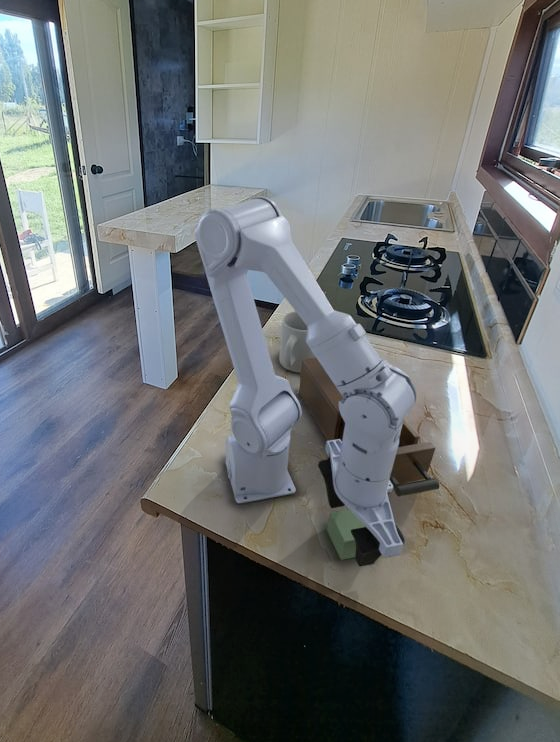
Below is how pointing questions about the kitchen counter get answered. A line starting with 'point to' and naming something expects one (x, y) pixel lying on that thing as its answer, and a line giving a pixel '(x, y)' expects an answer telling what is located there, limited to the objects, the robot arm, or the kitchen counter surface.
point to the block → (343, 532)
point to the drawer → (409, 462)
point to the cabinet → (321, 397)
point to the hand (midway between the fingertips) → (349, 531)
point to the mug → (294, 342)
